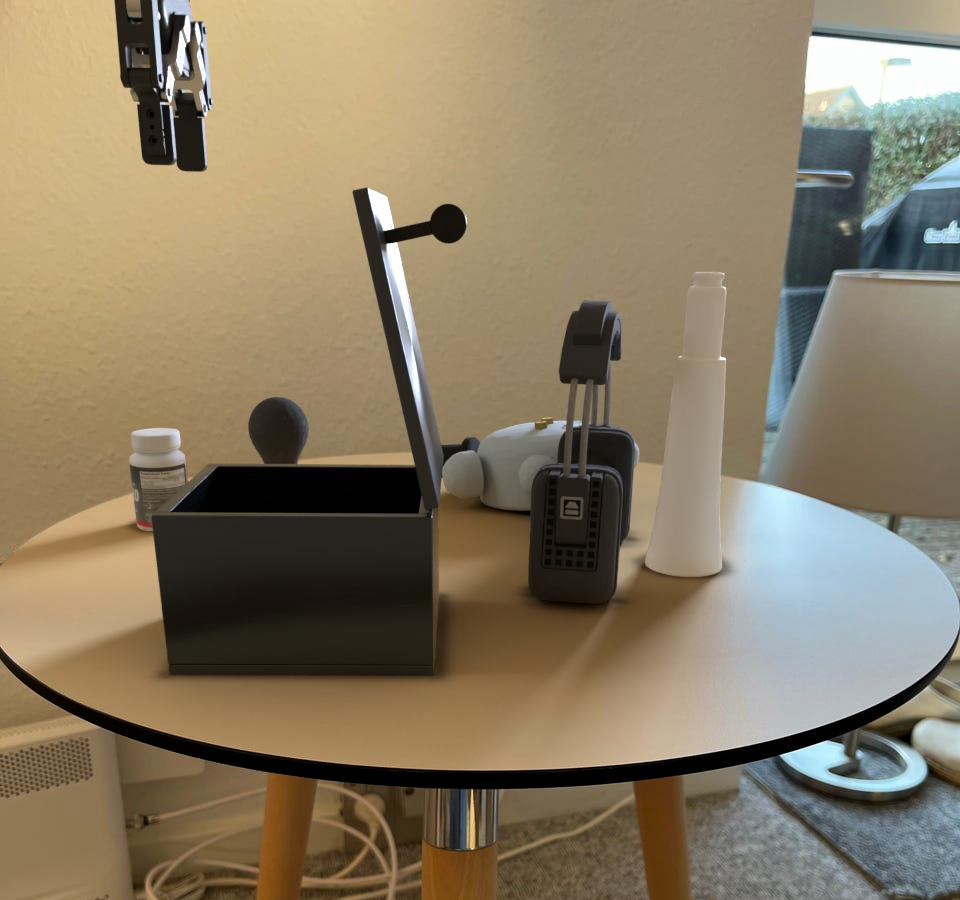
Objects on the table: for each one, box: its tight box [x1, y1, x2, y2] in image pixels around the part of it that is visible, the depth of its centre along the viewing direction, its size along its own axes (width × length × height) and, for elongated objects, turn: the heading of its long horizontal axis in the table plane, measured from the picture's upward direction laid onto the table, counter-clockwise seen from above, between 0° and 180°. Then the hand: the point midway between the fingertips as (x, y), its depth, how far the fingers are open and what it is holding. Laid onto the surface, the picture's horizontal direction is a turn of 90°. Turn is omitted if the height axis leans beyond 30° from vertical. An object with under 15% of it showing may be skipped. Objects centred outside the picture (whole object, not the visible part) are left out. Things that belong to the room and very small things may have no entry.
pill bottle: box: [128, 427, 189, 532], centre depth 89 cm, size 5×5×8 cm
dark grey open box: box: [151, 463, 440, 677], centre depth 65 cm, size 16×14×10 cm
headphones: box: [527, 300, 635, 605], centre depth 77 cm, size 22×6×20 cm, turn 169°
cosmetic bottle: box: [644, 271, 728, 578], centre depth 77 cm, size 6×6×22 cm
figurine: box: [441, 416, 640, 512], centre depth 99 cm, size 17×8×20 cm
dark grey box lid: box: [352, 186, 468, 510], centre depth 59 cm, size 17×14×5 cm
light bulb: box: [247, 396, 310, 464], centre depth 97 cm, size 6×6×10 cm
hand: (177, 168), depth 75 cm, fingers open, 8 cm apart
